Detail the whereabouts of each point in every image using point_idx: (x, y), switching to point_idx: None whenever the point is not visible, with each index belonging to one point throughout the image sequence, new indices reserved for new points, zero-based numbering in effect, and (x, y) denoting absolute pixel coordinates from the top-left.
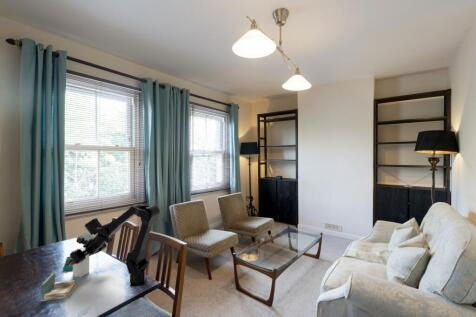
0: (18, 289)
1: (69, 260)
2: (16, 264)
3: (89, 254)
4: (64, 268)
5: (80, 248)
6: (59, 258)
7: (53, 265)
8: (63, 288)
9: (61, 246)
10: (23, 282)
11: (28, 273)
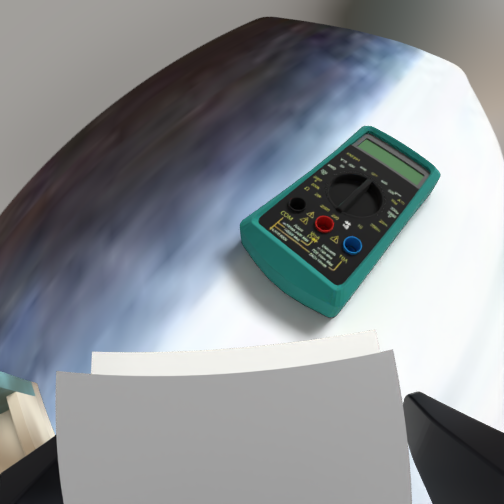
0: (33, 211)
1: (350, 167)
2: (233, 46)
3: (429, 463)
4: (245, 236)
5: (340, 383)
6: (352, 101)
7: (283, 128)
8: None
9: (407, 59)
10: (90, 167)
11: (174, 112)
